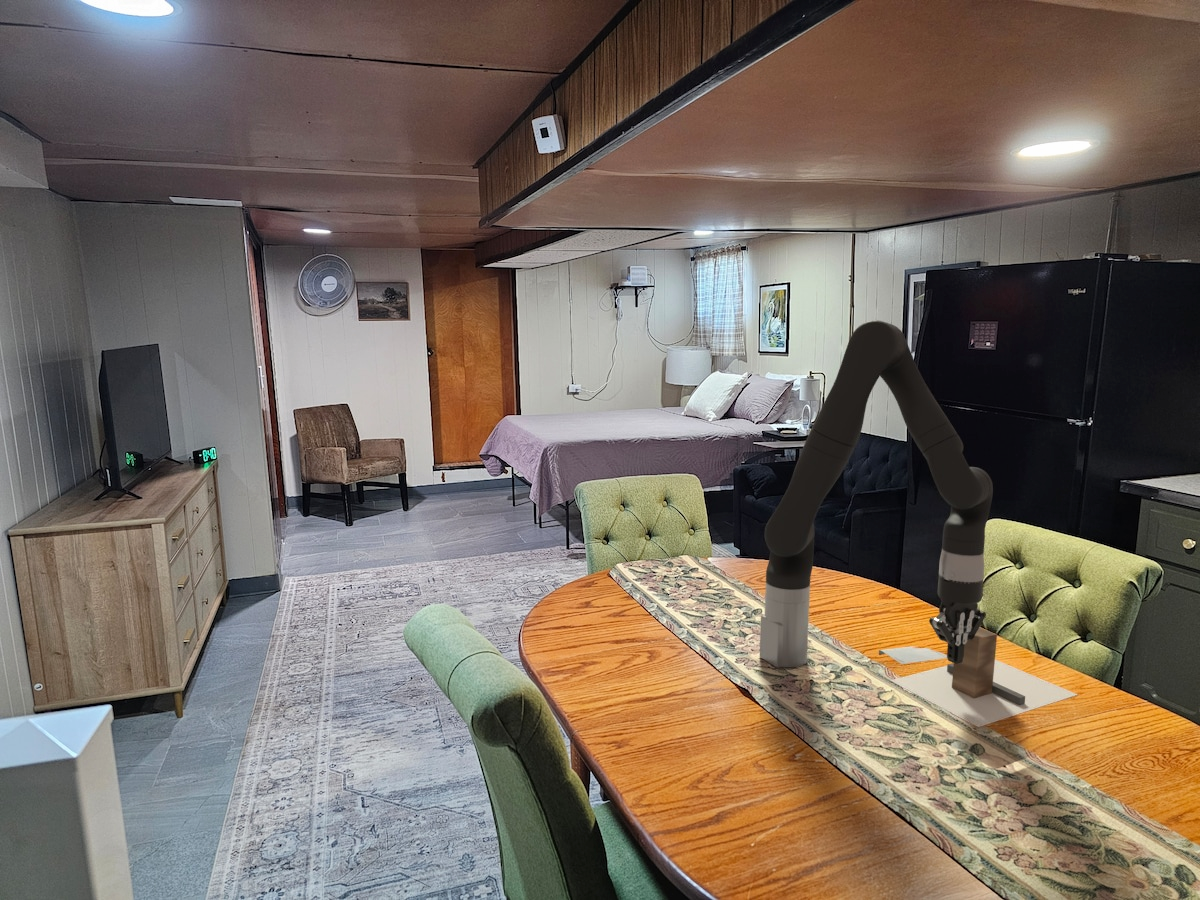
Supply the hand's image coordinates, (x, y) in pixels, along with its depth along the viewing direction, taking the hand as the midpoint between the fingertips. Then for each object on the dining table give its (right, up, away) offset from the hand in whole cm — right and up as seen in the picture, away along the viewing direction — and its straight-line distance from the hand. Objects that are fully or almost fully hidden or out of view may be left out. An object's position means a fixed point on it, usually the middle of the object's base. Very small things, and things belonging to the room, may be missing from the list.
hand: (954, 661), depth 141 cm
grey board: (+8, -7, +5) cm, 12 cm away
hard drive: (+1, -6, +21) cm, 22 cm away
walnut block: (+5, -7, +4) cm, 9 cm away
